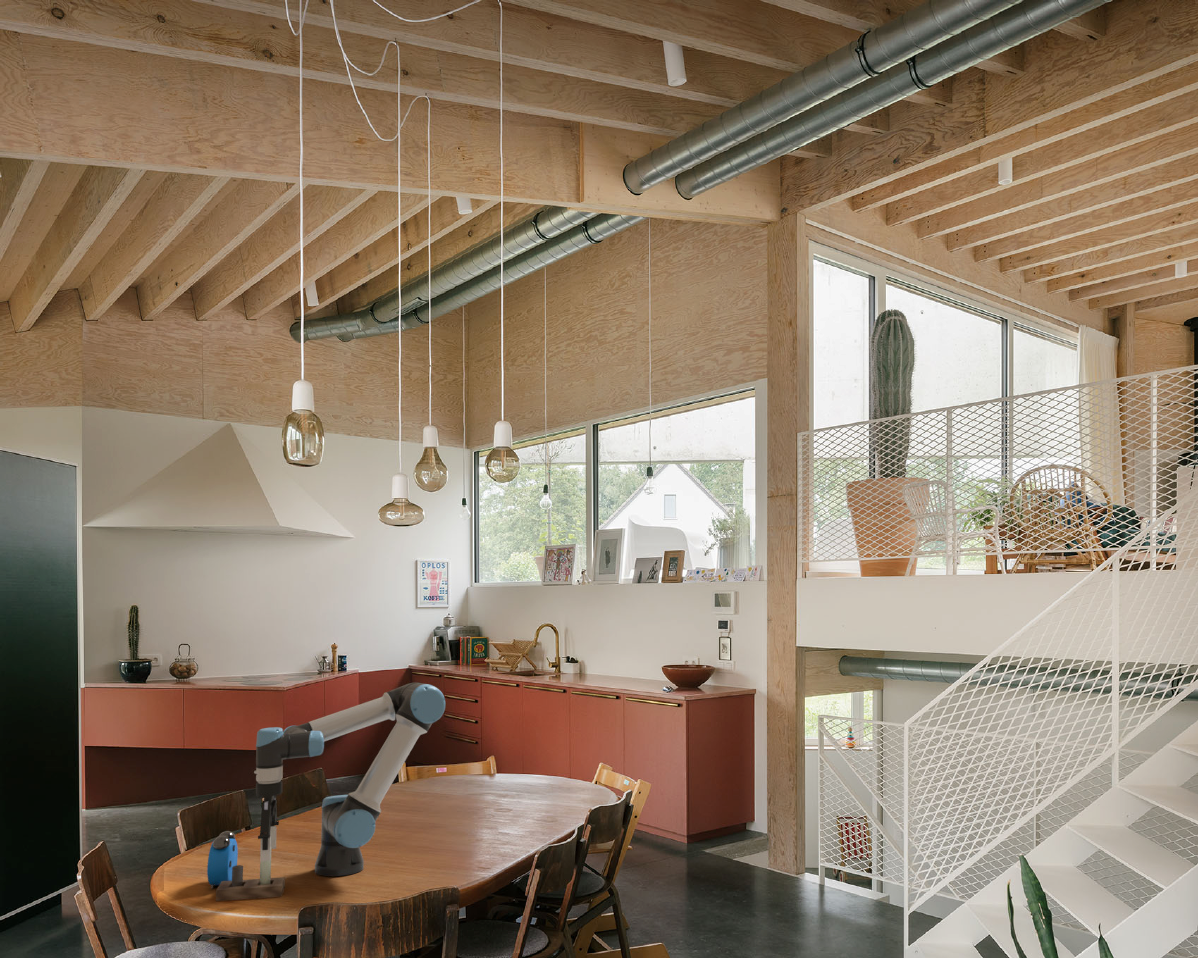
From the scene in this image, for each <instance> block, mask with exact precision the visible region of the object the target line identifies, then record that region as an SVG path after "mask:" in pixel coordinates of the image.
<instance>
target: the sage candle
mask: <svg viewBox="0 0 1198 958" xmlns="http://www.w3.org/2000/svg"><path fill="white" fill-rule="evenodd" d="M271 850H273V849H272V847H271ZM259 862H260V861H259ZM259 864H260V865H259V867H260V868H259V879H260V885H267V884H270V879H271V878H272V877H271V875H272V872H271V871H272V870H271V869H272V857H271V858H270V861H263V862H260V863H259Z"/></svg>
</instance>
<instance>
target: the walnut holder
mask: <svg viewBox="0 0 1198 958" xmlns="http://www.w3.org/2000/svg"><path fill="white" fill-rule="evenodd" d="M285 889H286V877H285V876H284V877H281V876H280V877H271V879H270V884H267V885H260V878H250V879H244V865H241V864H240V865H238V864H237V866H233V867H232V881H222V882H221V883H220V885H218V887H217V888H216V890H215V901H216V902H222V901H235V900H236V901H237V900H252V899H253V900H254V899H264V898H265V899H268V898H280V897H282V896H283V894H284V891H285Z"/></svg>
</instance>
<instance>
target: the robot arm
mask: <svg viewBox="0 0 1198 958" xmlns="http://www.w3.org/2000/svg"><path fill="white" fill-rule="evenodd" d="M445 710H446V699H445V696H444V694H443V692H442V691H441V690H440V689H439V688H438V687H436V686H434V685H432V684H429V683H428V684H427V683H423V682H418V681H417V682H411V683H407V684H404V685H402V686H399V687H396V688H394V689H392V690H388V691H386V692H384V693H383V694H382V696H381V697H379V698H374V699H372V700H369V701H366V702H363V703H361V704H357V705H354V706H351V707H348V708H346V709H342V710H340V711H337V712H334V713H331V714H328V715H324V716H323V717H319V718H317V719H313V720H311V721H308V722H305V723H302V724H299V725H290V726H288V727H286V728H285V729H283V728H282V727H275V726H274V727H265V728H261V729H259V730H258V731H257V734H256V744H255V750H256V754H255V755H256V757H255V764H256V766H255V769H256V770H254V772H253V773H254V774H255V775H256V776H255V781H256V783H255V796H256V797H260V798H261V797H262V798H263V800H262V802H260V803H261V804H260V805H261V806H260V807H261V812H260V813H261V815H260V816H261V817H260V829H259V835H258V836H257V839H258V840H260V849H259V850H260V855H259V856H260V858H259V859H260V861H259V862H263V861H270V858H271V859H272V850H274V849H275V850H276V849H277V826H279V824H280V821H278V816H277V815H278V812H277V802H278V801H277V796H279V795H281V794H283V781H282V779H283V775H284V772H283V770H284V769H283V768H284V764H283V760H288V759H298V758H308V757H309V758H312V757H317V756H321V755H322V754H323V753H324V749H325V742H327V741H329V740H332V739H335V738H338V737H342V736H344V735H346V734H349V733H352V732H355V731H357V730H361V729H364V728H366V727H370V726H372V725H376V724H378V723H381V722H384V721H387V720H390V721H396V723H395V725H394V726H393V728H392V729H391V731H390V733H389V734H388V737H387V738H386V740H385V742H384V743H383V745H382V747H381V748H380V750H379V751H378V754H377V755H376V756H375V757H374V760H373V761H372V763H371V765H370V766H369V769H368V770H367V772H366V773H365V775H364V776H363V778H362V780H361V782H360V783H359V785H358V787H357V788H356V789H355V791H352V792H349V793H348V794H342V795H341V794H338V795H331V796H326V797H325V798H323V799H322V805H321V837H320V838H321V840H320V841H321V843H320V848H319V852H318V854H317V856H316V860H315V864H314V873H315V874H316V875H319V876H322V877H323V876H324V877H340V876H341V877H343V876H348V875H353V874H356V873H359V872H361V871H363V870H364V865H365V864H364V863H365V862H364V857H363V854H362V851H361V847H363V846H365V845H366V844H368V843H369V842H370V840H371V839H372V838H373V836H374V834H375V832H376V822H377V819H378V818H379V816H380V814H381V813H382V809H381V803H382V801H383V799H384V798H385V796H386V794H387V792H388V791H389V789H390V787H391V786H392V784H393V783H394V780H395V779H396V777H397V775H398V774H399V772H400V770H401V769H402V768H403V765H404V763H405V762H406V760H407V759H408V756H410V753H411V751H412V750H413V748H414V746H415V745H416V742H417V741H418V739H419V738H420V736H421V735H424V734H427V733H428V731H429V729H430V728H431V726H432V724H434V723H436V722H437V721H438V720H440V719H441V718H442V716H443V715H444V712H445ZM271 847H272V849H271Z"/></svg>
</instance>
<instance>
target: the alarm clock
mask: <svg viewBox="0 0 1198 958" xmlns="http://www.w3.org/2000/svg"><path fill="white" fill-rule="evenodd" d="M238 852H239V849H238V842H237V840H236V835H235V833H234V832H232V831H229V830H226V831H223V832H221V833H219V835H218V836H217V837H215V839H213V841H212V842H211V845H210V849H209V852H208V856H207V857H208V858H207V865H206V866H207V871H206V875H207V881H208V884H209V885H210V886H211V889H213V888H214V886H219V885H220V883H221V882H222V881H232V867H233V866H237V865H238V854H239V853H238Z"/></svg>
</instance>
